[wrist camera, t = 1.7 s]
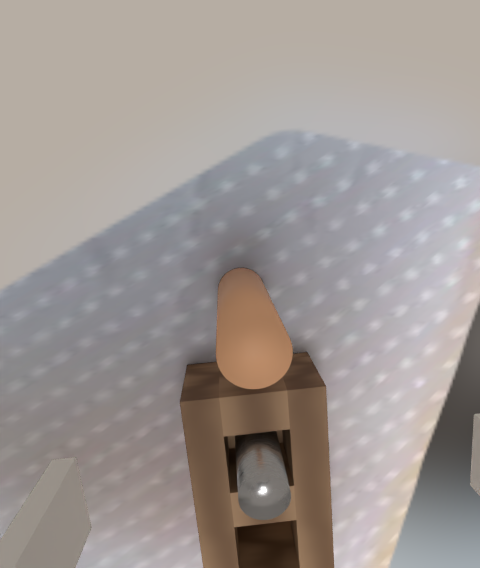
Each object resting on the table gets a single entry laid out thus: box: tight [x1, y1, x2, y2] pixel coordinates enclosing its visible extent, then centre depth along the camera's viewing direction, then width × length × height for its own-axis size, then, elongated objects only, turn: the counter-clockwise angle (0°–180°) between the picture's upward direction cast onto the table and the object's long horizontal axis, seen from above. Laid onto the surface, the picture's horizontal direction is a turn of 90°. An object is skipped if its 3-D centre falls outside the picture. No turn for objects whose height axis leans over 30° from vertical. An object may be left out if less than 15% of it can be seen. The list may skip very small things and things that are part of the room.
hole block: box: [180, 352, 334, 568], centre depth 37 cm, size 12×22×7 cm, turn 5°
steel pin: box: [235, 431, 291, 520], centre depth 34 cm, size 4×4×10 cm
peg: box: [216, 268, 293, 389], centre depth 29 cm, size 4×4×15 cm
